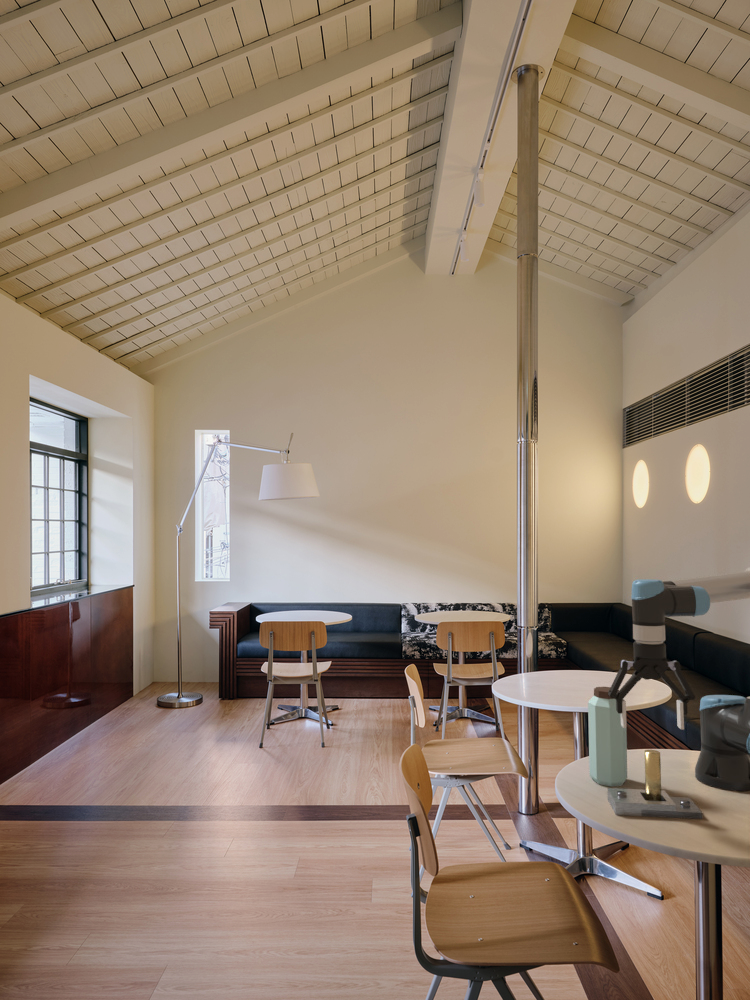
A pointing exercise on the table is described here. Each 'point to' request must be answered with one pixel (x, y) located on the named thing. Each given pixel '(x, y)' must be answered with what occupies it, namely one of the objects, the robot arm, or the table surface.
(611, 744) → the water bottle
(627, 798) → the chain ends
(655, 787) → the pin
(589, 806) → the table surface
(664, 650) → the robot arm
